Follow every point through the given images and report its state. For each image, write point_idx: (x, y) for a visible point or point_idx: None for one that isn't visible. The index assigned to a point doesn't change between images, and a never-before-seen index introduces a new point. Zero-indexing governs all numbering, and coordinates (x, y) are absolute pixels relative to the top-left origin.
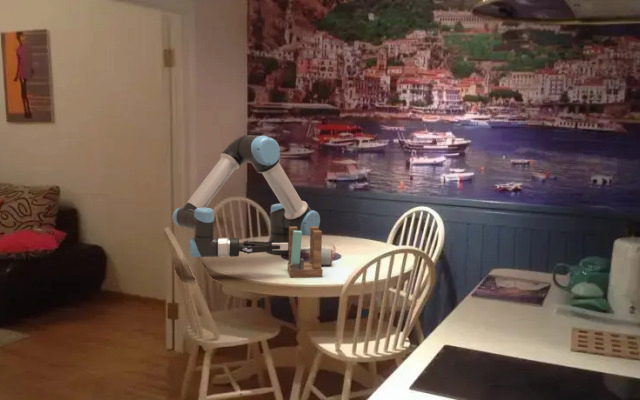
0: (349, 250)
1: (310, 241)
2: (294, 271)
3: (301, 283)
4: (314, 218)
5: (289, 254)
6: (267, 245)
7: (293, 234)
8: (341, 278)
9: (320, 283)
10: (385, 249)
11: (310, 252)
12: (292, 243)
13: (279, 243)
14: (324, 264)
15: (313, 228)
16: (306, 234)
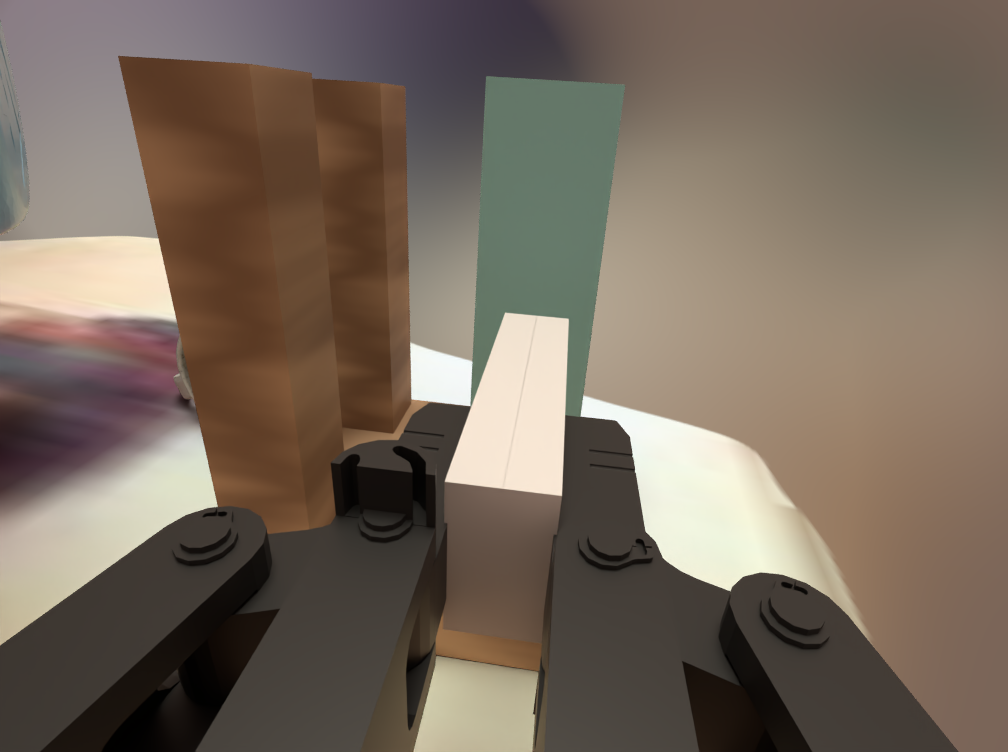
0: (114, 289)
1: (345, 245)
2: None
3: None
4: (2, 55)
5: (301, 470)
6: (808, 678)
7: (550, 144)
8: (617, 407)
9: (751, 509)
10: None
11: (365, 345)
12: (500, 300)
13: (539, 383)
14: None
15: (389, 92)
16: (4, 224)
